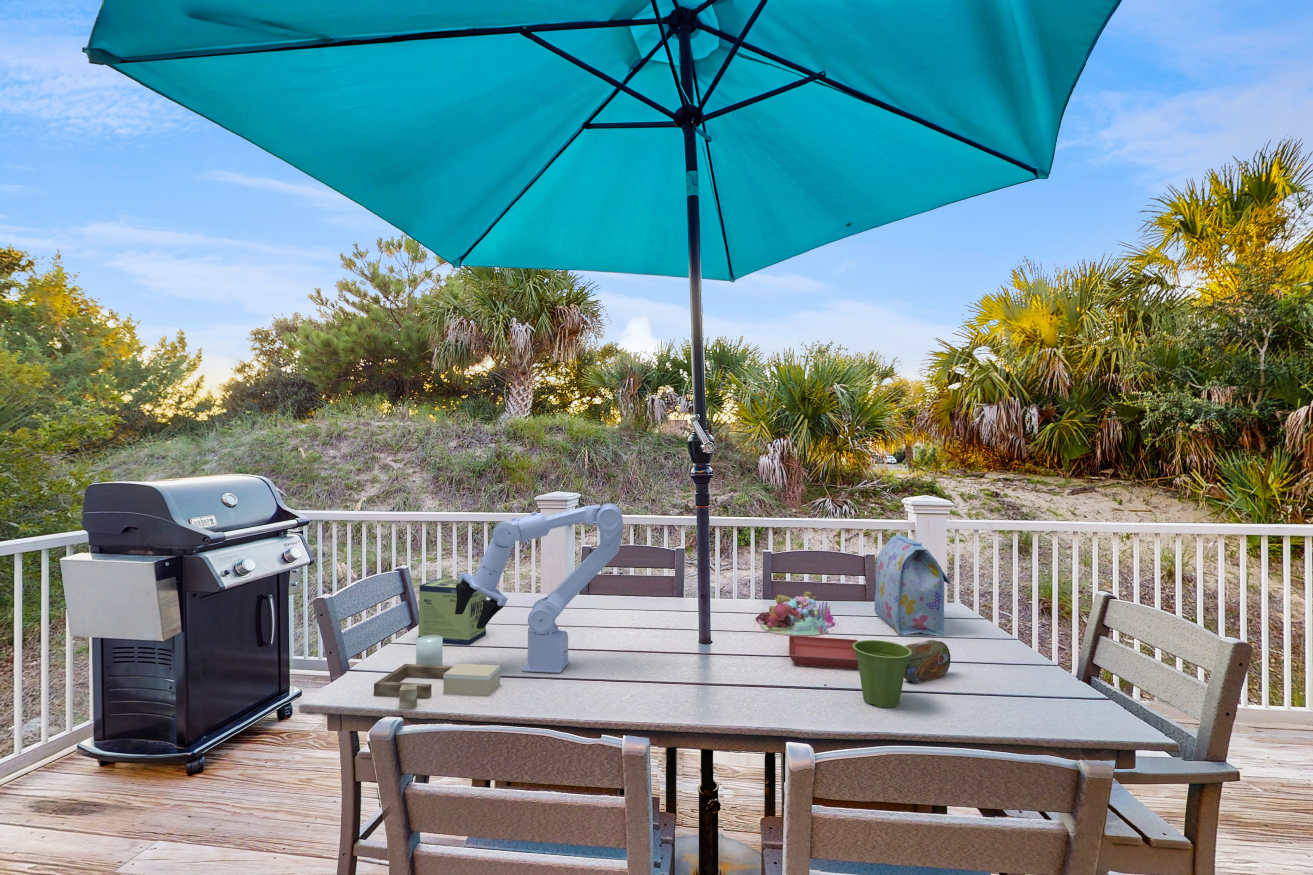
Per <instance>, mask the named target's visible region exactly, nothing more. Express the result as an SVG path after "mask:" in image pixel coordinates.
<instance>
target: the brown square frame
mask: <svg viewBox="0 0 1313 875" xmlns="http://www.w3.org/2000/svg"><path fill="white" fill-rule="evenodd" d="M454 666H455V665H454ZM454 666H453V665H442V666H438V665H418V664H416V663H415V664H414V663H404V664H403V665H401V666H400V667H398V668H396V669H395V670H393V671H391V672H389V673H388V674H387V675H385V676H384V677H382V678H381V679H379V680H377V681H376V682H374V684H373V697H374V696H377V697H378V696H379V697H390V698H391V697H394V698H399V692H400V688H401V686H402V685H410V684H417V699H425V700H427V699H429V698H430V697H431V696H432V683H416V682H414V683H413V682H402V681H403V680H405V679H406V678H415V679H416V678H419V679H437V680H444V678H443V675H444V673H446V672H447V671H448V670H450V669H451V668H452V667H454Z"/></svg>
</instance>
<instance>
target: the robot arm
mask: <svg viewBox="0 0 1313 875" xmlns="http://www.w3.org/2000/svg"><path fill="white" fill-rule="evenodd" d="M580 523H583V524H586V525H589V526H592V527H594V526H595V523H596V526H597V528H598V532H599V544H598V545H597V546H596V548H594V550H592V552H591V553H589V555H588V556H586V558H584V559H583V560H582V562H581V563H580V564H579V565H577V566H576V568H575V569H574V570H573V571H571V573H570V574H569V575H568V576H567V577H566V578H564V580H562V582H561V583H560V584H559V585H558V586H557V587H556V588H554V589H553V590H552V591H551V592H549V594H547V596H545V597H542V598H540V599H538V600H537V601H535V603H534V604H533V605H532V609H531V611H529V614H528V617H527V625H528V628H527V663H526V665H524V666H523V667H522V669H521V671H522V672H533V673H551V674H552V673H553V674H554V673H555V674H560V673H562V672H563V671H564V670H565V668H566V666H568V665H569V663H570V661H569V637H568V636H569V634H568V631H566V630H561V629H559V626H558V625H557V624H556V619H557V617H558V616H560V615H561V613H562V612H563V611H564V609H565V608H566V607H567V606H568V604H569V603H570V602H571V601H572V600H573V599H574V598H575V597H576V596H577V595H578V594H580V592H581V591H582V590H583V589H584V588H585V587H586V586H587V585H588V584H589V583H590V582H591V581H592V580H593V579H594V577H596V576H597V575H598V574H599V573H600V572H601V571H602V570H603V569H604V568H605V567H606V566H607V565H608V564H609V563H610V561H611V560H612V559H614V558H615V556H616V555H618V553H619V552H620V548H621V542H622V536H623V532H624V529H625V528H624V518H623V514H622V511H621V508H620V507H619V506H618V505H617V504H615V503H612V502H606V503H604V504H602V505H601V504H593V505H586V506H582V507H577V508H574V509H571V510H567V511H564V512H559V513H557V514H553V515H549V516H548V515H546V514H544V513H543V512H539V513H538V512H537V511H532V512H531V513H530V515H526V516H522V517H518V518H517V517H516V516H515V517H512V518H511V520H504V521H501V522H500V523H498V524H497V525H496V526H495V527H494V528H493V531H492V535H491V537H492V538H491V539H490V541H489V545H488V546H486V549H485V552H484V554H483V557H482V559H481V561H480V564H479V566H478V569H477V571H476V573H475V576H473V575H472V574H469V573H467V572H461V573H460V574H459V577H458V580H459V581H461V583H457V585H456V591H457V602H456V609H455V614H463V612H464V611H465V608H466V606H467V604H468V602H469V600H470V598H471V597H472V595H473V594H474V592H475V591H476V590H477V591H479V592H480V593H482V594H483V595H485V596H487V598H488V599H486V600H484V601H483V607H482V612H481V615H480V618H479V620H478V623H477V627H476V628H477V629H484V627H485V626H486V627H487V625H488V623H489V622H490V621H491V620H492V618H493V617H494V616H495V615H496V614H497V613H498V612H499V611H501V610H502V609H503V608H504V607H505V606H506V604H507V602H508V599H509V597H506V596H505V595H504V594H503V593H502V592H501V591H499V590H498V588H497V587H498V584H499V582H500V579H501V577H502V574H503V572H504V570H505V568H506V565H507V562H508V561H509V559H510V557H511V554H510V553H511V551H512V548H513V546H514V544H515V543H516V542H517V541H518V542H525V541H529V540H534V539H538V538H542V537H545V536H548V534H549V533H550V531H551V530H552V529H557V528H562V527H567V526H571V525H575V524H580Z"/></svg>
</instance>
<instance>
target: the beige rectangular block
mask: <svg viewBox="0 0 1313 875" xmlns="http://www.w3.org/2000/svg"><path fill="white" fill-rule="evenodd" d="M443 678H444V679H443V691H442V692H443V695H452V696H453V695H455V696H457V695H458V696H471V697H472V696H473V697H490V695H491V694H492V693H493V692H494V691H495V690H496V689H497V688H499V686H500V685H501V665H497V664H496V665H495V664H494V665H493V664H479V663H478V664H477V663H473V664H472V663H456V664H455V665H454V667H452V668H451V669H450V670H448V671H447V672H446V673H444V675H443Z"/></svg>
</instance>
